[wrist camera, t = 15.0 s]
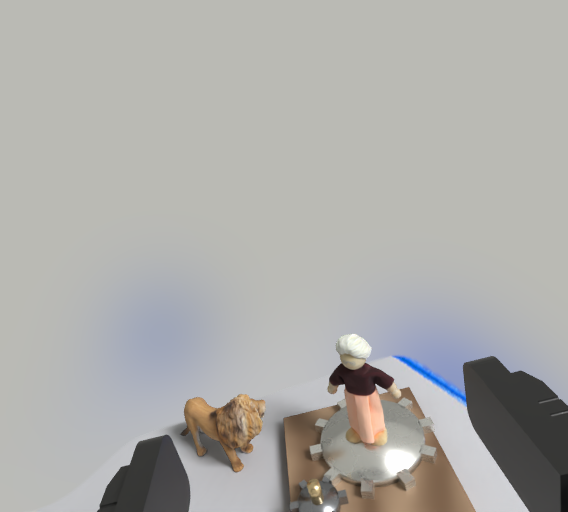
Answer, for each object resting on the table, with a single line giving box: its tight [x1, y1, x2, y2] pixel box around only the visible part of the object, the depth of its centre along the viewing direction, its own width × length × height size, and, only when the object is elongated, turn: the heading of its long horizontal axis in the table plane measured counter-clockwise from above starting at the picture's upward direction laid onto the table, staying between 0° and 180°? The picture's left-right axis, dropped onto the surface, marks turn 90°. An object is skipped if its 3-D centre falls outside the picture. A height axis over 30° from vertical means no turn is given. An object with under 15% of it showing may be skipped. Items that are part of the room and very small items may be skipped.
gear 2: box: [310, 393, 437, 499], centre depth 45 cm, size 13×13×1 cm
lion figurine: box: [180, 394, 266, 472], centre depth 50 cm, size 15×5×9 cm, turn 63°
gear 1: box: [289, 475, 349, 512], centre depth 40 cm, size 6×5×3 cm
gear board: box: [284, 387, 476, 512], centre depth 44 cm, size 16×17×2 cm
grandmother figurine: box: [328, 334, 401, 446], centre depth 43 cm, size 8×4×13 cm, turn 78°
